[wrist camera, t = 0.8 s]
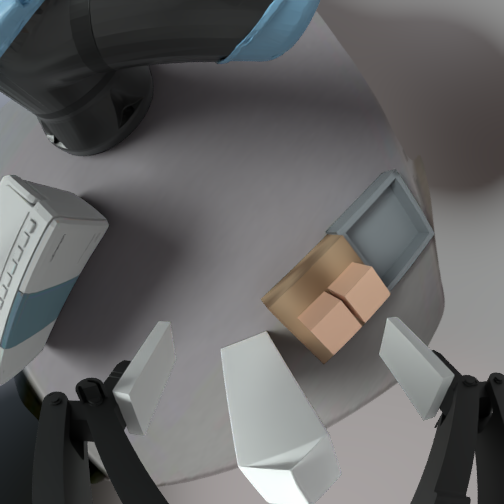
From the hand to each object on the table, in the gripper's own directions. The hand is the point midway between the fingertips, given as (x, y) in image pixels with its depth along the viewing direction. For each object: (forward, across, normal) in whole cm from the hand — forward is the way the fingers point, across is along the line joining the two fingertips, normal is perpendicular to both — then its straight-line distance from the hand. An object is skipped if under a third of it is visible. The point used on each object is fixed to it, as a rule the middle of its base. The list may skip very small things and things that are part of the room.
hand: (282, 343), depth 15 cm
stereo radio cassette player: (+12, -27, 0) cm, 29 cm away
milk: (+15, -2, -11) cm, 19 cm away
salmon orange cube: (+14, +9, -2) cm, 16 cm away
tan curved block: (+17, +6, -4) cm, 19 cm away
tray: (+19, +15, +4) cm, 25 cm away
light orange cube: (+13, +6, -4) cm, 15 cm away
